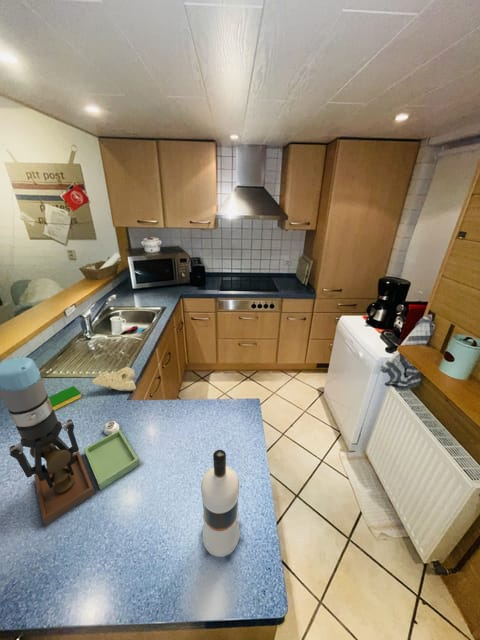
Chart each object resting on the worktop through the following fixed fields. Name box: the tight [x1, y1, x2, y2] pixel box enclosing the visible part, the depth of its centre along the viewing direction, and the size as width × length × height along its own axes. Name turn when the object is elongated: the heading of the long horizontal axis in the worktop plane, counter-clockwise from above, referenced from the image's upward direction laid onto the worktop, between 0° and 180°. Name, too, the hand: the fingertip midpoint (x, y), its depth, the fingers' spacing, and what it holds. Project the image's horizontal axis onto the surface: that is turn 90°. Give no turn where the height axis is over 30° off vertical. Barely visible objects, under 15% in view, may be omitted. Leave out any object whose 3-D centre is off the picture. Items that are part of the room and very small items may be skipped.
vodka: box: [200, 449, 241, 558], centre depth 57 cm, size 9×9×30 cm
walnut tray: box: [33, 450, 96, 526], centre depth 72 cm, size 16×12×3 cm
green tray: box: [83, 429, 141, 491], centre depth 81 cm, size 16×12×3 cm
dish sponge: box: [48, 385, 82, 411], centre depth 103 cm, size 7×14×2 cm, turn 141°
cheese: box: [91, 366, 137, 392], centre depth 111 cm, size 15×7×15 cm
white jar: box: [103, 420, 120, 436], centre depth 91 cm, size 5×3×5 cm
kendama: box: [29, 443, 75, 494], centre depth 68 cm, size 6×10×20 cm, turn 59°
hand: (61, 477), depth 71 cm, fingers closed on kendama, 4 cm apart
